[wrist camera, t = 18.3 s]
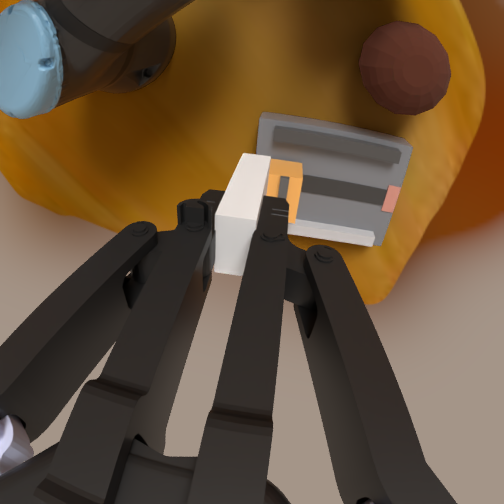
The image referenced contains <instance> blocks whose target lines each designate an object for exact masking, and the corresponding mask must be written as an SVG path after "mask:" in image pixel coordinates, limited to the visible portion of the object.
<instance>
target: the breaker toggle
mask: <svg viewBox="0 0 504 504" xmlns="http://www.w3.org/2000/svg"><path fill="white" fill-rule="evenodd" d="M302 181H303V169H302V163H299V162H292V161H285V160H278V159H271V161H270V170H269V178H268V187H267V195H266V196H272V197H279V198H285V199H286V200H287V202H288V203H289V216H288V217H289V218H288V223H294V224H295V220H296V215H297V209H298V204H299V198H300V192H301V187H302Z"/></svg>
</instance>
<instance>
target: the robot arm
mask: <svg viewBox="0 0 504 504" xmlns="http://www.w3.org/2000/svg"><path fill="white" fill-rule="evenodd" d="M193 1H195V0H22V1H20V2H18V3H16V4H14V5H11V6H9V7H7V8H6V9H5V10H4V11H2V12H1V13H0V110H2V111H3V112H4V113H5V114H7V115H9V116H11V117H16V118H19V119H26V118H30V117H33V116H36V115H39V114H44V113H47V112H50V111H51V110H52V109H53V108H56V107H58V106H60V105H62V104H65V103H67V102H69V101H72V100H74V99H77V98H79V97H81V96H84V95H87V94H89V93H92V92H94V91H97V90H100V91H105V92H109V93H126V92H130V91H133V90H136V89H139V88H142V87H144V86H146V85H148V84H149V83H151V82H152V81H154V80H155V79H156V78H157V77H158V76H159V75H160V74H161V73H162V72H163V71H164V69H165V68H166V67H167V65H168V63H169V61H170V59H171V57H172V55H173V52H174V48H175V42H176V31H175V25H174V22H173V19H172V17H171V16H172V15H174V14H175V13H177V12H178V11H180V10H181V9H183V8H184V7H186V6H187V5H189V4H190V3H192V2H193ZM270 161H271V156H264V155H256V154H247V153H243V155H242V157H241V159H240V161H239V163H238V165H237V167H236V169H235V172H234V174H233V176H232V178H231V180H230V182H229V185H228V187H227V189H226V191H219V190H208V191H207V192H205V193H203V194H202V196H201V198H200V199H189V200H185V201H182V202H180V203H179V204H178V205H177V216H178V225H177V227H176V229H175V230H171V231H160V232H157V228H156V226H155V225H154V224H153V223H151V222H146V221H141V222H140V221H139V222H135V223H132V224H130V225H128V226H127V227H125V228H124V229H123V230H122V231H121V232H119V233H118V234H117V235H116V236H115V237H114V238H112V239H111V240H110V241H109V242H108V243H107V244H105V245H104V246H103V247H102V248H101V249H99V250H98V251H97V252H96V253H95V254H94V255H93V256H92V257H90V258H89V259H88V260H87V261H86V262H85V263H84V264H83V265H81V266H80V267H79V268H78V269H77V270H76V271H75V272H74V273H73V274H72V275H71V276H69V277H68V278H67V279H66V280H65V281H64V282H63V283H62V284H61V285H60V286H59V287H58V288H57V289H56V290H55V291H54V292H53V293H51V295H49V296H48V297H47V298H46V299H45V300H44V301H43V302H42V303H41V304H40V305H39V306H38V307H37V308H36V309H35V310H34V311H33V312H32V313H31V314H30V315H29V316H28V317H27V319H25V321H24V322H23V323H22V324H21V325H20V326H19V327H18V328H17V329H16V330H15V331H14V332H13V333H12V334H11V335H10V336H9V338H8V339H7V340H6V341H5V342H4V343H3V344H2V345H1V346H0V504H291V503H290V502H289V501H288V499H287V498H286V497H285V495H284V494H283V493H282V492H281V491H280V490H279V489H278V488H277V487H276V486H275V485H274V484H273V483H272V482H270V481H269V480H267V473H268V466H269V457H270V450H271V442H272V432H273V421H272V411H273V403H274V394H275V385H276V376H277V367H278V357H279V347H280V336H281V325H282V314H283V303H284V299H285V300H287V301H289V302H292V303H294V311H295V314H296V318H297V322H298V326H299V330H300V334H301V337H302V341H303V345H304V349H305V353H306V357H307V361H308V364H309V369H310V373H311V377H312V381H313V385H314V389H315V393H316V397H317V401H318V406H319V410H320V414H321V418H322V422H323V427H324V431H325V435H326V439H327V443H328V447H329V452H330V457H331V461H332V465H333V470H334V474H335V479H336V482H337V486H338V490H339V493H340V496H341V498H342V501H343V503H344V504H457V503H456V501H455V500H454V499H453V498H452V496H451V495H450V493H449V492H448V491H447V490H446V488H445V487H444V486H443V484H442V483H441V482H440V480H439V479H438V478H437V476H436V475H435V474H434V473H433V471H432V470H431V468H430V467H429V466H428V465H427V463H426V461H425V458H424V455H423V452H422V449H421V446H420V443H419V440H418V437H417V434H416V431H415V428H414V426H413V423H412V420H411V417H410V414H409V412H408V409H407V406H406V403H405V401H404V398H403V395H402V393H401V390H400V388H399V385H398V382H397V380H396V377H395V375H394V372H393V370H392V367H391V365H390V363H389V360H388V358H387V355H386V353H385V350H384V348H383V346H382V343H381V341H380V338H379V336H378V334H377V331H376V329H375V327H374V325H373V322H372V320H371V318H370V316H369V314H368V311H367V309H366V307H365V305H364V302H363V300H362V298H361V296H360V294H359V292H358V289H357V287H356V285H355V283H354V281H353V279H352V277H351V275H350V273H349V270H348V268H347V266H346V264H345V262H344V260H343V258H342V256H341V255H340V254H339V252H338V251H336V250H335V249H333V248H331V247H329V246H325V245H314V246H311V247H310V248H308V250H307V251H305V250H303V249H300V248H298V247H296V246H295V245H293V244H292V243H291V242H290V241H289V239H288V236H287V233H288V218H289V217H288V216H289V203H288V202H287V200H286V199H285V198H279V197H272V196H266V195H267V187H268V178H269V170H270ZM213 265H214V272H219V273H225V274H231V275H238V276H243V277H242V282H241V286H240V290H239V295H238V299H237V303H236V307H235V312H234V316H233V320H232V325H231V329H230V333H229V337H228V342H227V346H226V350H225V355H224V359H223V364H222V368H221V372H220V376H219V381H218V385H217V389H216V394H215V399H214V403H213V406H212V409H211V411H210V412H209V414H208V417H207V421H206V424H205V428H204V433H203V437H202V442H201V446H200V450H199V454H198V457H169V456H164V455H163V452H164V448H165V433H166V427H167V423H168V420H169V416H170V413H171V410H172V406H173V403H174V399H175V396H176V393H177V389H178V386H179V383H180V379H181V376H182V373H183V369H184V366H185V363H186V359H187V356H188V353H189V350H190V347H191V343H192V340H193V337H194V333H195V330H196V327H197V324H198V321H199V318H200V314H201V311H202V309H203V305H204V302H205V299H206V296H207V293H208V290H209V287H210V284H211V281H212V268H213ZM129 271H130V272H131V273H130V274H129V275H128V276H126V274H127V273H128V272H129ZM115 342H116V343H115ZM114 343H115V345H114V347H113V349H112V351H111V353H110V356H109V357H108V360H107V362H106V364H105V366H104V368H103V371H102V373H101V375H100V376H99V378H97V379H95V380H89V381H88V382H87V383H85V385H84V386H83V388H82V390H81V392H80V394H79V396H78V398H77V401H76V403H75V405H74V408H73V410H72V412H71V415H70V417H69V419H68V422H67V424H66V427H65V430H64V432H63V434H62V437H61V439H60V441H59V442H58V443H56V444H54V445H53V446H51V447H49V448H48V449H46V450H44V451H43V452H41V453H39V454H38V455H36V456H34V457H33V454H34V451H33V448H32V447H31V446H30V443H31V442H32V441H34V440H35V439H37V438H38V437H39V436H40V435H41V434H42V433H43V432H44V431H45V430H46V429H47V428H48V427H49V426H50V424H51V423H52V422H53V421H54V420H55V418H56V417H57V416H58V415H59V413H60V412H61V410H62V409H63V408H64V406H65V405H66V404H67V403H68V401H69V400H70V399H71V397H72V396H73V395H74V393H75V392H76V391H77V390H78V388H79V387H80V386H81V384H82V383H83V382H84V380H85V379H86V378H87V377H88V375H89V374H90V373H91V372H92V370H93V369H94V368H95V366H96V365H97V364H98V363H99V361H100V360H101V359H102V358H103V356H104V355H105V354H106V353H107V351H108V350H109V349H110V348H111V346H112V345H113V344H114ZM24 461H25V462H24Z"/></svg>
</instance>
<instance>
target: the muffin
mask: <svg viewBox="0 0 504 504" xmlns="http://www.w3.org/2000/svg"><path fill="white" fill-rule="evenodd" d="M359 67H360V72H361V76H362V80H363V85H364V87H365V88H366V89H367V91H368V92H369V93H370V95H371V96H372V97H373V99H374V100H375V102H376V103H377V104H379V105H381V106H383V107H384V108H386V109H388V110H390V111H391V112H393V113H395V114H405V115H417V114H420V113H422V112H425V111H427V110H430V109H432V108H434V107H435V106H436V104H437V103H438V102H439V101H440V100H441V99H442V98H443V97H444V95H445V94H446V92H447V88H448V84H449V81H450V77H451V71H450V65H449V59H448V54H447V52H446V51H445V49H444V48H443V46H442V44H441V43H440V41H439V40H438V38H437V37H436V36H435V35H434V34H432V33H431V32H429V31H428V30H426V29H425V28H423V27H422V26H420V25H419V24H415V23H409V22H402V21H395V22H392V23H389V24H386V25H383V26H380V27H378V28H376V30H375V31H374V32H373V33H372V34H371V35H370V36H369V38H368V39H367V40H366V41H365V42H364V43H363V48H362V52H361V57H360V59H359Z"/></svg>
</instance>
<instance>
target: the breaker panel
mask: <svg viewBox="0 0 504 504" xmlns="http://www.w3.org/2000/svg"><path fill="white" fill-rule="evenodd" d="M412 149H413V147H412V146H411V145H410V144H409V143H408V142H407V141H406V140H405V139H404V138H401V137H397V136H393V135H389V134H385V133H381V132H377V131H373V130H368V129H364V128H359V127H354V126H350V125H345V124H340V123H334V122H329V121H323V120H318V119H312V118H306V117H299V116H292V115H285V114H277V113H269V112H262V114H261V116H260V119H259V129H258V140H257V150H256V155H264V156H271V159H278V160H285V161H292V162H299V163H302V169H303V181H302V187H301V192H300V198H299V204H298V209H297V215H296V220H295V224H294V223H288V233H287V234H293V235H300V236H306V237H313V238H320V239H326V240H333V241H339V242H345V243H352V244H358V245H364V246H371V247H372V245H377V246H381V244H382V241H383V239H384V236H385V233H386V231H387V228H388V225H389V222H390V219H391V217H392V214H393V211H394V208H395V205H396V202H397V199H398V196H399V193H400V190H401V186H402V183H403V180H404V177H405V173H406V170H407V167H408V163H409V160H410V156H411V153H412Z"/></svg>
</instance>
